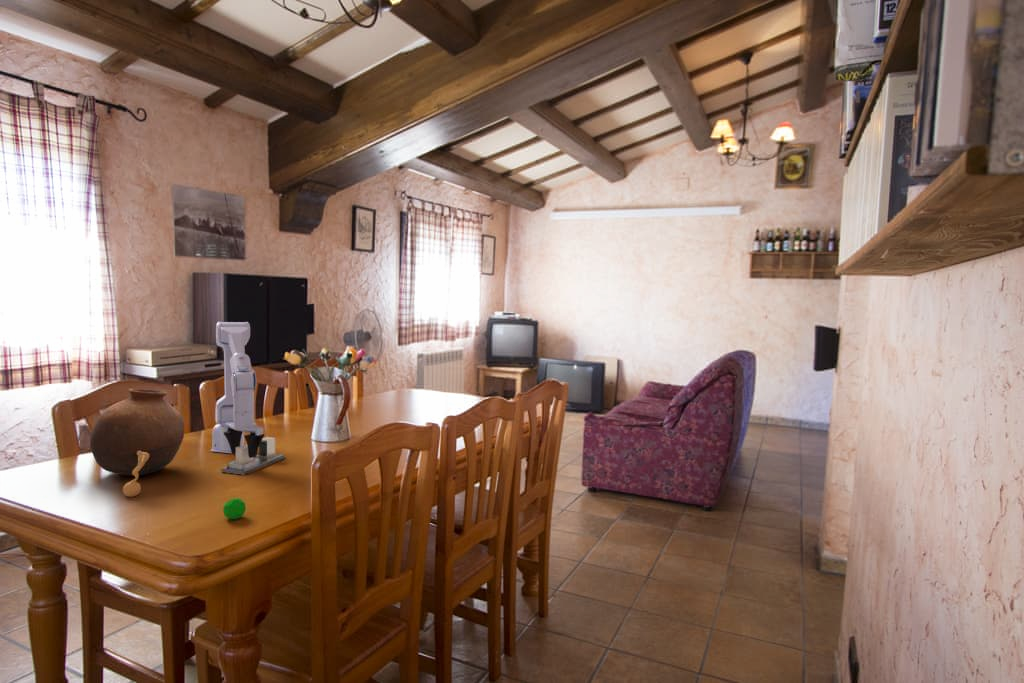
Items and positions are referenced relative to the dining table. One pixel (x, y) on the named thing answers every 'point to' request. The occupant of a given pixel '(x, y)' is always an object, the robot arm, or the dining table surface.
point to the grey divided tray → (256, 458)
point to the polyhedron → (234, 508)
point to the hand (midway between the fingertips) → (244, 455)
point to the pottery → (137, 433)
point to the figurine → (133, 486)
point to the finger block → (243, 455)
